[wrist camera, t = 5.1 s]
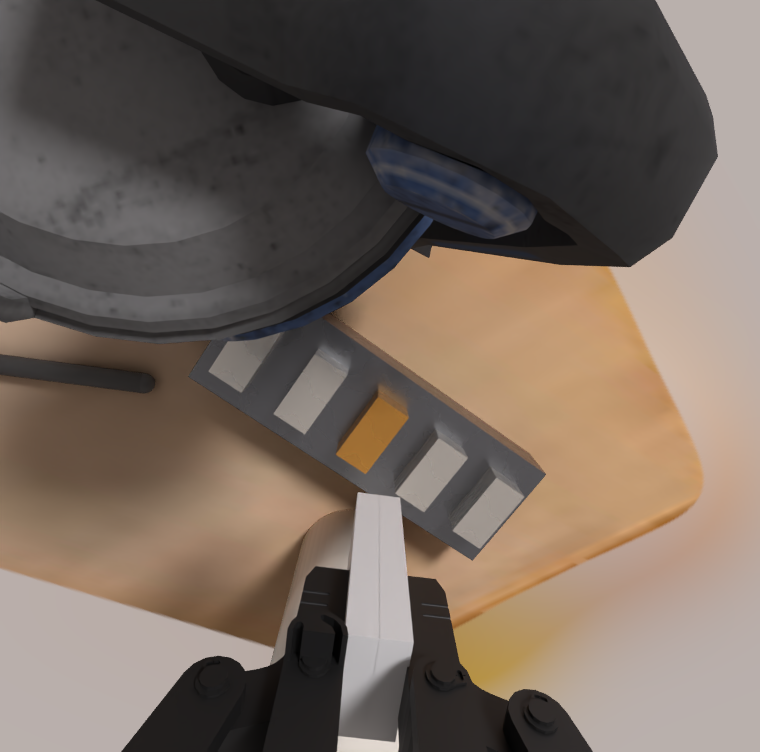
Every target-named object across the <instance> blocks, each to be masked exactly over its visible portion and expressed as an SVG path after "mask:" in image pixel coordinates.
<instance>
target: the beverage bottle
mask: <svg viewBox="0 0 760 752" xmlns="http://www.w3.org/2000/svg"><path fill="white" fill-rule="evenodd" d="M717 157H718V154H717V146H716V139H715V130H714V122H713V116H712V112H711V109H710V106H709V103H708V100H707V97H706V94H705V92H704V90H703V89H702V87H701V85H700V83H699V81H698V79H697V77H696V76H695V74H694V72H693V70H692V68H691V66H690V64H689V62H688V61H687V59H686V57H685V55H684V53H683V51H682V50H681V48H680V46H679V44H678V42H677V40H676V39H675V36H674V34H673V32H672V31H671V29H670V27H669V25H668V23H667V22H666V20H665V18H664V16H663V14H662V12H661V10H660V8H659V6H658V4H657V3H656V1H655V0H0V321H2V322H5V323H7V322H13V321H18V320H24V319H30V318H37V319H41V320H44V321H47V322H51V323H54V324H57V325H60V326H64V327H67V328H70V329H73V330H77V331H80V332H83V333H86V334H90V335H93V336H96V337H105V338H113V339H122V340H130V341H139V342H147V343H156V344H165V343H178V342H191V341H204V340H217V339H222V340H223V341H246V340H256V339H259V338H263V337H267V336H270V335H274V334H277V333H281V332H284V331H288V330H292V329H295V328H299V327H302V326H305V325H307V324H309V323H311V322H313V321H315V320H317V319H319V318H321V317H323V316H325V315H327V314H329V313H331V312H333V311H335V310H337V309H339V308H340V307H342V306H344V305H346V304H348V303H350V302H352V301H353V300H355V299H356V298H357V297H358V296H360V295H361V294H362V293H363V292H365V291H366V290H367V289H368V288H370V287H371V286H372V285H373V284H375V283H376V282H377V281H378V280H380V279H381V278H382V277H383V276H385V275H386V274H387V273H388V272H390V271H391V270H392V269H393V268H394V267H395V266H396V265H397V264H398V263H399V261H400V260H401V259H402V258H403V257H404V256H405V254H406V253H407V252H408V251H409V250H410V248H411V249H413V250H415V251H417V252H418V253H420V254H422V255H424V256H426V257H428V258H429V257H430V251H431V247H432V246H438V247H445V248H451V249H458V250H465V251H472V252H478V253H485V254H492V255H498V256H505V257H512V258H519V259H525V260H532V261H539V262H545V263H552V264H559V265H584V266H614V267H615V266H616V267H631V266H632V265H634V264H635V263H637V262H638V261H639V260H641V259H642V258H644V257H645V256H647V255H648V254H650V253H651V252H652V251H654V250H655V249H657V248H658V247H660V246H661V245H663V244H664V243H665V242H667V241H668V240H670V239H671V238H672V237H673V235H674V234H675V232H676V230H677V228H678V227H679V225H680V223H681V221H682V219H683V218H684V216H685V214H686V212H687V211H688V209H689V207H690V205H691V203H692V202H693V200H694V198H695V196H696V194H697V193H698V191H699V189H700V187H701V186H702V184H703V182H704V180H705V178H706V176H707V175H708V173H709V171H710V170H711V168H712V166H713V164H714V162H715V161H716V159H717Z"/></svg>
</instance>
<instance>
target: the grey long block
mask: <svg viewBox="0 0 760 752" xmlns="http://www.w3.org/2000/svg"><path fill="white" fill-rule="evenodd" d="M188 377H189V378H191V379H193V380H194V381H196V382H197V383H199V384H200V385H202V386H203V387H205V388H206V389H208V390H210V391H211V392H213V393H214V394H216V395H217V396H219V397H220V398H222V399H223V400H225V401H227V402H228V403H230V404H231V405H233V406H234V407H236V408H237V409H239V410H240V411H242V412H244V413H245V414H247V415H248V416H250V417H251V418H253V419H254V420H256V421H257V422H259V423H261V424H262V425H264V426H265V427H267V428H268V429H270V430H271V431H273V432H274V433H276V434H278V435H279V436H281V437H282V438H284V439H285V440H287V441H288V442H290V443H291V444H293V445H295V446H296V447H298V448H299V449H301V450H302V451H304V452H305V453H307V454H308V455H310V456H312V457H313V458H315V459H316V460H318V461H319V462H321V463H322V464H324V465H325V466H327V467H329V468H330V469H332V470H333V471H335V472H336V473H338V474H339V475H341V476H342V477H344V478H346V479H347V480H349V481H350V482H352V483H353V484H355V485H356V486H358V487H359V488H361V489H363V490H364V491H366V492H367V493H369V494H375V495H383V496H391V497H399V498H400V502H401V513H402V515H403V516H404V517H406V518H407V519H409V520H410V521H412V522H414V523H415V524H417V525H418V526H420V527H421V528H423V529H424V530H426V531H427V532H429V533H431V534H432V535H434V536H435V537H437V538H438V539H440V540H441V541H443V542H444V543H446V544H448V545H449V546H451V547H452V548H454V549H455V550H457V551H458V552H460V553H461V554H463V555H465V556H466V557H468V558H469V559H471V560H472V561H473V559H474V558H475V557H476V556H477V555H478V554H479V552H480V551H481V550H482V549H483V548H484V547H485V545H486V544H487V543H488V542H489V541H490V540H491V538H492V537H493V536H494V535H495V534H496V533H497V531H498V530H499V529H500V528H501V527H502V526H503V524H504V523H505V522H506V521H507V520H508V519H509V517H510V516H511V515H512V514H513V513H514V512H515V510H516V509H517V508H518V507H519V506H520V505H521V503H522V502H523V501H524V500H525V499H526V498H527V496H528V495H529V494H530V493H531V492H532V491H533V489H534V488H535V487H536V486H537V485H538V484H539V482H540V481H541V480H542V479H543V478H544V477H545V475H546V474H545V472H544V471H543V470H542V468H541V467H540V466H539V465H538V463H537V462H536V461H535V460H534V458H533V457H532V456H531V455H530V453H528V452H527V451H525V450H524V449H522V448H521V447H520V446H518V445H517V444H515V443H514V442H512V441H511V440H510V439H508V438H507V437H505V436H504V435H502V434H501V433H500V432H498V431H497V430H495V429H494V428H492V427H491V426H490V425H488V424H487V423H485V422H484V421H483V420H481V419H480V418H478V417H477V416H475V415H474V414H473V413H471V412H470V411H468V410H467V409H465V408H464V407H463V406H461V405H460V404H458V403H457V402H455V401H454V400H453V399H451V398H450V397H448V396H447V395H445V394H444V393H443V392H441V391H440V390H438V389H437V388H436V387H434V386H433V385H431V384H430V383H428V382H427V381H426V380H424V379H423V378H421V377H420V376H418V375H417V374H416V373H414V372H413V371H411V370H410V369H408V368H407V367H406V366H404V365H403V364H401V363H400V362H398V361H397V360H396V359H394V358H393V357H391V356H390V355H389V354H387V353H386V352H384V351H383V350H381V349H380V348H379V347H377V346H376V345H374V344H373V343H371V342H370V341H369V340H367V339H366V338H364V337H363V336H361V335H360V334H359V333H357V332H356V331H354V330H353V329H351V328H350V327H349V326H347V325H346V324H344V323H343V322H342V321H340V320H339V319H337V318H336V317H334V316H333V315H332V314H330V313H329V314H327V315H325V316H323V317H321V318H319V319H317V320H315V321H313V322H311V323H309V324H307V325H305V326H302V327H299V328H295V329H292V330H288V331H284V332H281V333H277V334H274V335H270V336H267V337H263V338H259V339H256V340H246V341H223V340H222V339H217V340H211V342H210V343H209V345H208V346H207V348H206V349H205V351H204V353H203V354H202V356H201V357H200V359H199V360H198V362H197V364H196V365H195V367H194V368H193V370H192V371H191V373H190V375H189V376H188Z"/></svg>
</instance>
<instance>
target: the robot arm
mask: <svg viewBox="0 0 760 752" xmlns="http://www.w3.org/2000/svg"><path fill="white" fill-rule="evenodd" d="M397 730H398V736H399V750H398V752H592V750H591V748H590V747H589V745H588V744H587V742H586V741H585V739H584V738H583V737H582V735H581V733H580V732H579V730H578V729H577V727H576V726H575V724H574V723H573V721H572V720H571V718H570V717H569V715H568V714H567V712H566V711H565V710H564V709H563V708H562V707H561V705H560V704H559V703H558V702H556V701H555V700H554V699H552V698H551V697H549V696H548V695H546V694H544V693H541V692H539V691H536V690H528V689H523V690H520V691H517V692H515V693H514V694H513V695H512V696H511V698H510V699H509V701H507V700H504V699H502V698H500V697H497V696H495V695H492V694H490V693H488V692H486V691H484V690H482V689H480V688H479V687H478V686H476V685H475V684H474V683H473V682H472V681H471V679H470V676H469V674H468V672H467V670H466V669H465V668H464V667H463V666H462V665H461V664H460V662H459V657H458V653H457V648H456V643H455V638H454V633H453V628H452V623H451V620H450V613H449V609H448V604H447V599H446V594H445V591H444V590H443V589H442V587H441V586H440V584H439V583H438V582H437V580H436V579H429V578H421V577H412V576H407V566H406V555H405V545H404V534H403V524H402V513H401V502H400V498H399V497H391V496H383V495H375V494H367V493H360V492H358V494H357V501H356V508H355V515H354V522H353V529H352V536H351V543H350V551H349V558H348V566H347V570H344V569H336V568H327V567H319V566H315V567H314V568H313V569H312V571H311V572H310V573H309V574H308V575H307V576H306V578H305V583H304V587H303V592H302V596H301V600H300V604H299V609H298V613H297V617H295V618H294V619H293V620H292V621H291V623H290V625H289V627H288V629H287V638H286V647H285V655H284V656H283V657H282V658H281V659H279V660H278V661H277V662H276V663H274V664H272V665H270V666H268V667H264V668H260V669H256V670H250V671H245V670H244V669H243V667H242V666H241V664H240V663H239V662H237V661H235V660H233V659H232V658H229V657H222V656H216V657H208V658H205V659H202V660H200V661H198V662H196V663H194V664H193V665H192V666H191V667H190V668H188V669H187V670H186V671H185V672H184V673H183V675H182V676H181V677H180V678H179V680H178V681H177V682H176V683H175V685H174V686H173V687H172V689H171V690H170V691H169V692H168V694H167V695H166V696H165V697H164V699H163V700H162V701H161V702H160V704H159V705H158V706H157V707H156V709H155V710H154V711H153V712H152V714H151V715H150V716H149V717H148V719H147V720H146V721H145V723H144V724H143V725H142V726H141V728H140V729H139V730H138V731H137V733H136V734H135V735H134V736H133V738H132V739H131V740H130V742H129V743H128V744H127V745H126V746H125V748H124V749H123V750H122V752H337V745H338V736H342V737H351V738H360V739H370V740H379V741H388V742H395V741H396V736H397Z"/></svg>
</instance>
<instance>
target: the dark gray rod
mask: <svg viewBox="0 0 760 752" xmlns="http://www.w3.org/2000/svg"><path fill="white" fill-rule="evenodd" d="M0 375H7V376H14V377H22V378H30V379H38V380H45V381H53V382H61V383H68V384H76V385H84V386H91V387H99V388H107V389H114V390H122V391H130V392H137V393H148V392H150V391H152V390H153V389H154V387H155V380H154V378H153V377H152V376H151V375H149V374H145V373H137V372H130V371H122V370H114V369H107V368H99V367H92V366H84V365H77V364H69V363H61V362H54V361H46V360H39V359H31V358H24V357H16V356H8V355H1V354H0Z"/></svg>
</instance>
